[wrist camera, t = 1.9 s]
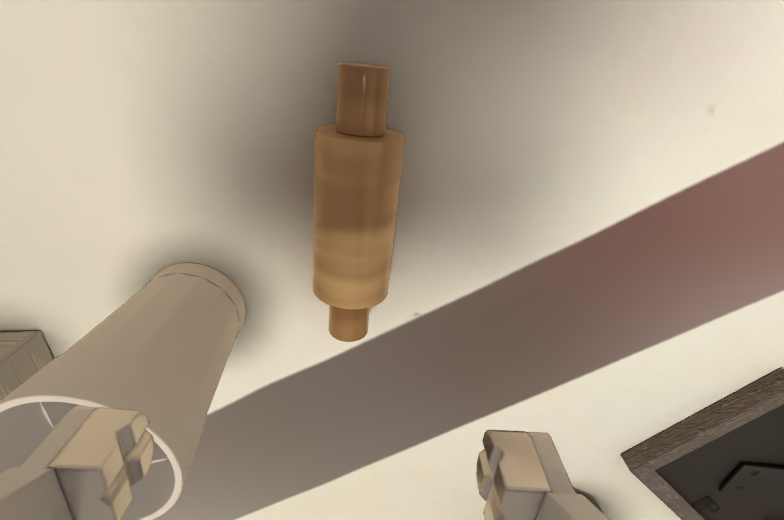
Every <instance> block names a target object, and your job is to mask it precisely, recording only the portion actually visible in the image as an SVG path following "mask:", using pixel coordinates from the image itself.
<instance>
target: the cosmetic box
mask: <svg viewBox="0 0 784 520" xmlns="http://www.w3.org/2000/svg"><path fill="white" fill-rule="evenodd" d="M52 360H53V357H52V355H51V352H50V350H49V348H48V346H47V343H46V341H45V339H44V337H43V335H42V333H41V332H40V331H25V332H3V333H0V401H1V400H2V399H4V398H5V397H6V396H7V395H9V394H10V393H11V392H13V391H14V390H15V389H16V388H18V387H19V386H20V385H21V384H23V383H24V382H25V381H27V380H28V379H29V378H30V377H32V376H33V375H34V374H35V373H37V372H38V371H39V370H40V369H42V368H43V367H44V366H46V365H47V364H48V363H49V362H51V361H52Z"/></svg>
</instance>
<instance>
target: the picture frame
mask: <svg viewBox="0 0 784 520" xmlns="http://www.w3.org/2000/svg"><path fill="white" fill-rule="evenodd" d="M621 456H622V458H623V459H624V461H625V463H626V465H627V466H628V468H629V470H630V471H631V472H632V473H633V474H634V475H635V476H636V477H637V478H638V479H639V480H640V481H641V482H642V483H643V484H644V485H645V486H647V487H648V488H649V489H650V490H651V491H652V492H653V493H654V494H655V495H656V496H657V497H658V498H659V499H660V500H661V501H663V502H664V503H665V504H666V505H667V506H668V507H669V508H670V509H671V510H672V511H673V512H674V513H675V514H676V515H677V516H678V517H680V518H681V519H682V520H784V370H783V369H782V368H780V369H778V370H776V371H774V372H772V373H770V374H769V375H767V376H765V377H763V378H761V379H759V380H757V381H756V382H754V383H752V384H750V385H748V386H746V387H744V388H743V389H741V390H739V391H737V392H735V393H733V394H732V395H730V396H728V397H726V398H724V399H722V400H720V401H719V402H717V403H715V404H713V405H711V406H709V407H707V408H706V409H704V410H702V411H700V412H698V413H696V414H694V415H693V416H691V417H689V418H687V419H685V420H683V421H682V422H680V423H678V424H676V425H674V426H672V427H670V428H669V429H667V430H665V431H663V432H661V433H659V434H657V435H656V436H654V437H652V438H650V439H648V440H646V441H644V442H643V443H641V444H639V445H637V446H635V447H633V448H632V449H630V450H628V451H626V452H624V453H622V454H621Z"/></svg>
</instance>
